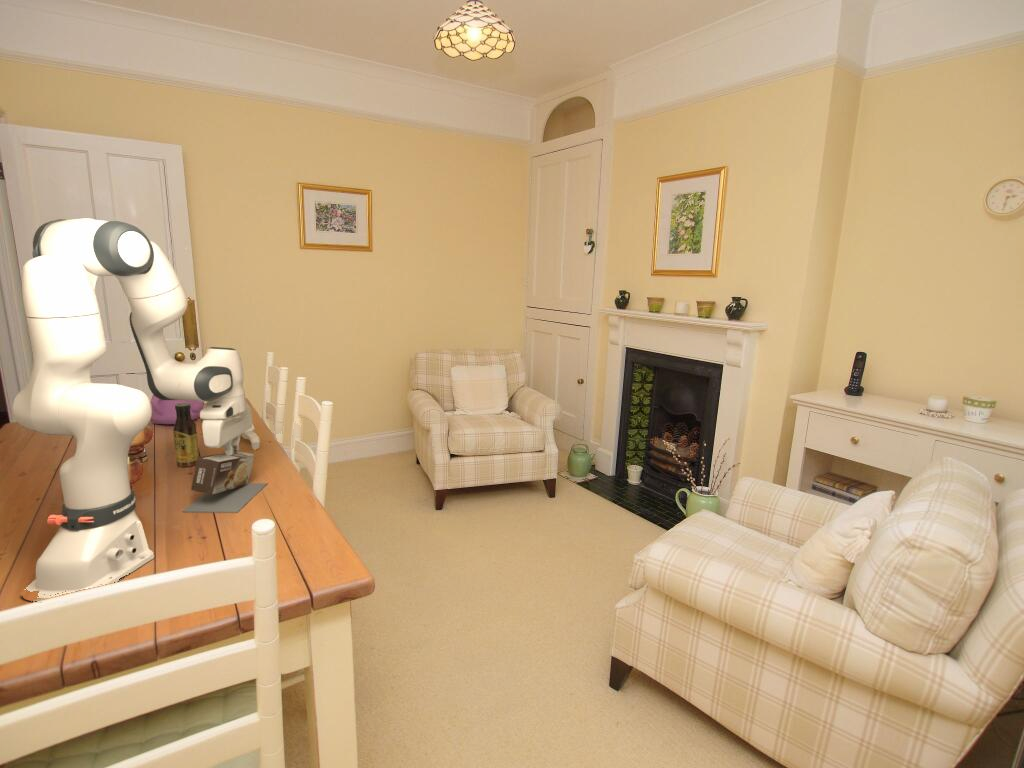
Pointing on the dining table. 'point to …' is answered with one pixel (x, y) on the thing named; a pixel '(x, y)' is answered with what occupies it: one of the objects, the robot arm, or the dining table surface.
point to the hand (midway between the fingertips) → (232, 452)
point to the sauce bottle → (185, 437)
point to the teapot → (171, 410)
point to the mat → (226, 499)
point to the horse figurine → (252, 437)
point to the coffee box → (222, 472)
